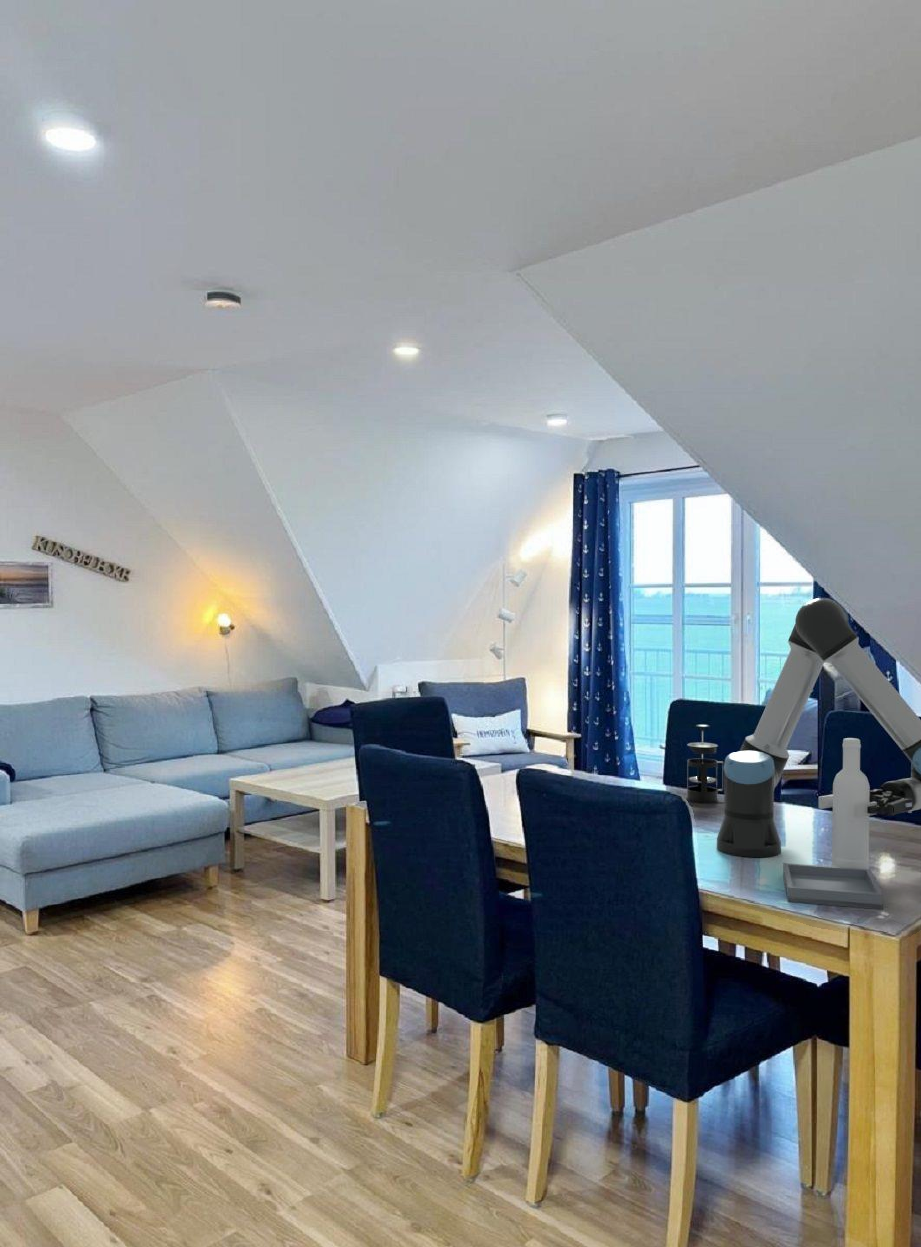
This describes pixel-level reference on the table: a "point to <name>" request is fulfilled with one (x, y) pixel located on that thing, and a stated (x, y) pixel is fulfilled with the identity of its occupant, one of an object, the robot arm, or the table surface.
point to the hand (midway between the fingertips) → (837, 807)
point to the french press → (703, 773)
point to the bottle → (850, 811)
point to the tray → (832, 886)
